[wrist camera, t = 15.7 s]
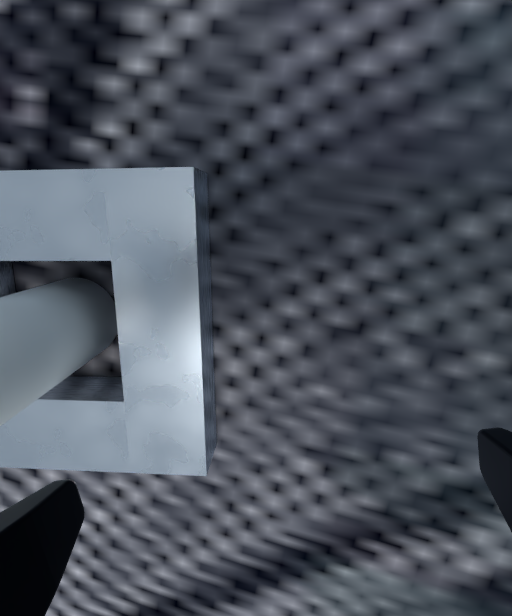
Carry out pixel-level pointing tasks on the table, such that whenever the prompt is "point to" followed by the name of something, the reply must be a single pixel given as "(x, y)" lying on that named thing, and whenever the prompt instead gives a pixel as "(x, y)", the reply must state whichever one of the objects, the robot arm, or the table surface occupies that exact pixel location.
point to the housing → (121, 318)
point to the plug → (50, 338)
